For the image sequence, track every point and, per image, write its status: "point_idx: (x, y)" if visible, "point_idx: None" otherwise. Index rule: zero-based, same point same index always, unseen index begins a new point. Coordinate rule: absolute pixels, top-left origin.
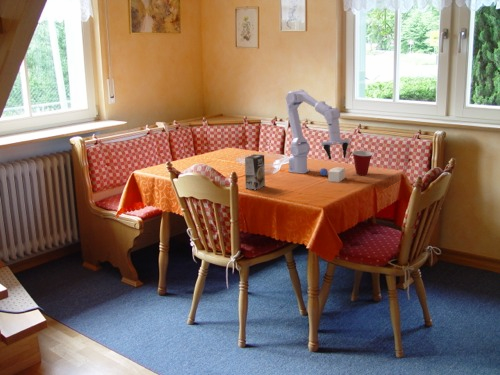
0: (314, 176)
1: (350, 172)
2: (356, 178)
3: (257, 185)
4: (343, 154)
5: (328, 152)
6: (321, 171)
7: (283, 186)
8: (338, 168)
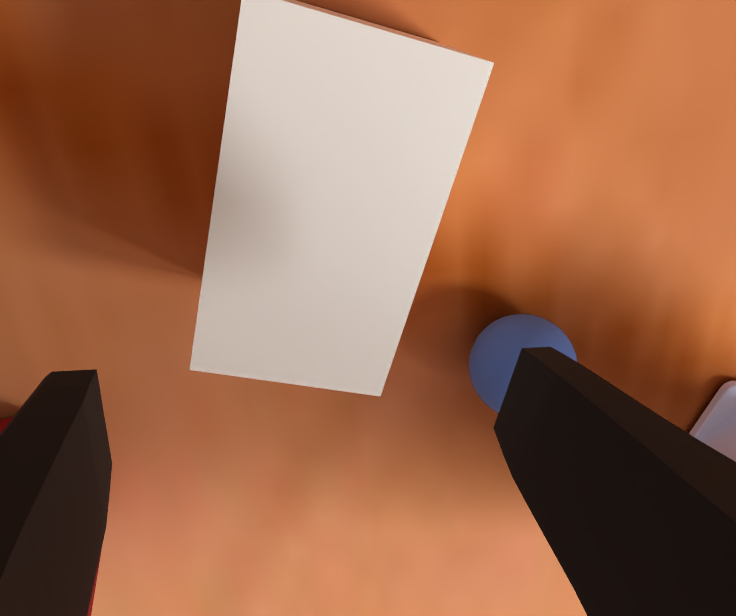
0: (622, 291)
1: (197, 505)
2: (32, 273)
3: None
4: (54, 450)
5: (708, 486)
6: (561, 340)
7: None
8: (300, 306)
